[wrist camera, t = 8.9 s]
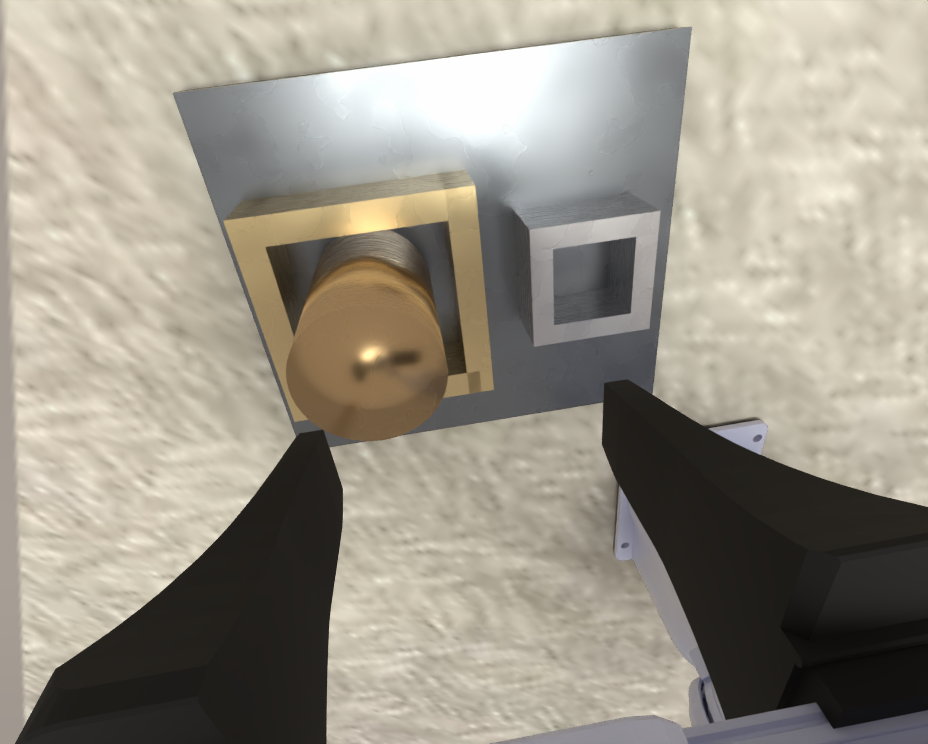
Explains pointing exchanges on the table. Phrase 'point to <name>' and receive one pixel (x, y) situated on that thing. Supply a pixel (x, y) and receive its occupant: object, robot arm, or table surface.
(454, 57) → the fitting plate
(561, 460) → the table surface
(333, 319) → the cylindrical peg
